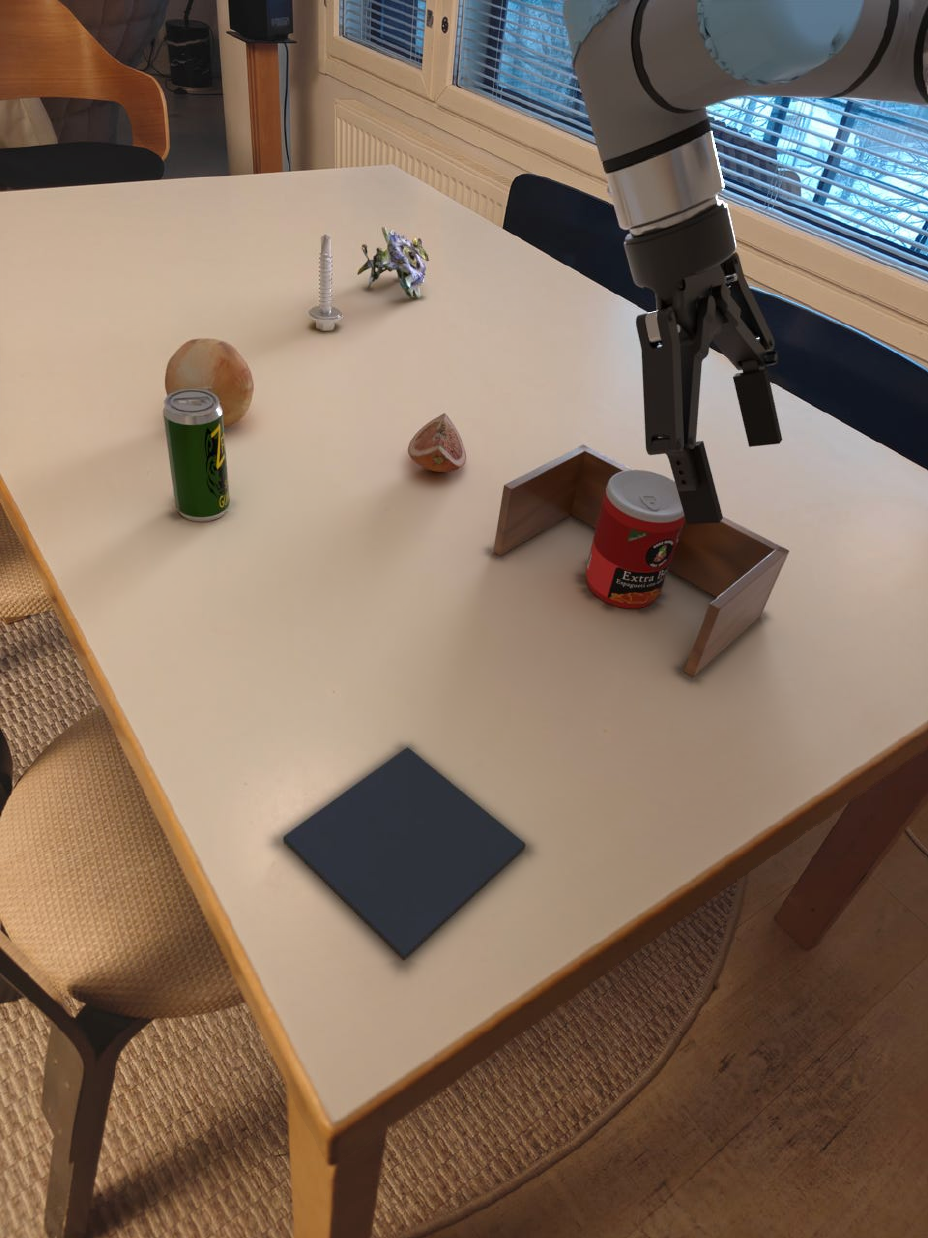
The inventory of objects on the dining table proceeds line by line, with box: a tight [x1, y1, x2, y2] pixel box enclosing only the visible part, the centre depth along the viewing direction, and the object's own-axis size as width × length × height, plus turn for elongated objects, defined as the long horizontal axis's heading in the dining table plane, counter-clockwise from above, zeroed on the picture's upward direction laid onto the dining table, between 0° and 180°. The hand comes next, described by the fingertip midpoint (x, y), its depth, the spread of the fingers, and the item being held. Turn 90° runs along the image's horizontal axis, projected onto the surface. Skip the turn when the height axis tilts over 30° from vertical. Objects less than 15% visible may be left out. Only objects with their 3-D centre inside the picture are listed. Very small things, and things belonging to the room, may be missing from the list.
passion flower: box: [356, 226, 430, 299], centre depth 136 cm, size 11×11×12 cm
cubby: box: [492, 444, 790, 678], centre depth 84 cm, size 24×13×8 cm, turn 47°
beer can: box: [162, 389, 231, 523], centre depth 84 cm, size 5×5×12 cm
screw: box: [307, 234, 343, 332], centre depth 121 cm, size 13×5×5 cm
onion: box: [164, 337, 255, 427], centre depth 98 cm, size 10×10×10 cm
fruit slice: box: [407, 412, 467, 473], centre depth 97 cm, size 8×7×5 cm
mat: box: [282, 746, 526, 960], centre depth 60 cm, size 12×12×1 cm
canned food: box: [585, 469, 685, 610], centre depth 82 cm, size 8×8×11 cm
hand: (737, 480), depth 71 cm, fingers open, 13 cm apart
